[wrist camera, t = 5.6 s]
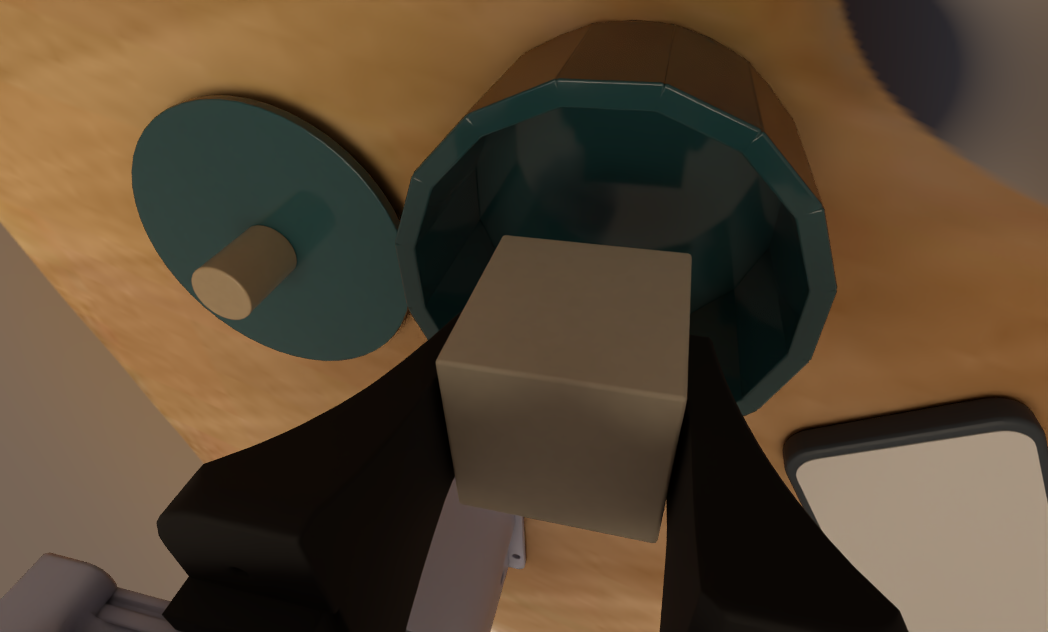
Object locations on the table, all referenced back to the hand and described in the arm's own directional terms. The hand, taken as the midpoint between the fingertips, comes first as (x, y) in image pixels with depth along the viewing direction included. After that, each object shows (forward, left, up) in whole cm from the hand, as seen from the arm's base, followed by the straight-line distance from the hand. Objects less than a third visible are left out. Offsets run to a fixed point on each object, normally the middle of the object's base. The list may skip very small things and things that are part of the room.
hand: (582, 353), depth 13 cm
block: (0, 0, -1) cm, 1 cm away
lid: (-3, +14, -8) cm, 16 cm away
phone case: (-15, -15, -8) cm, 23 cm away
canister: (0, 0, -8) cm, 8 cm away
